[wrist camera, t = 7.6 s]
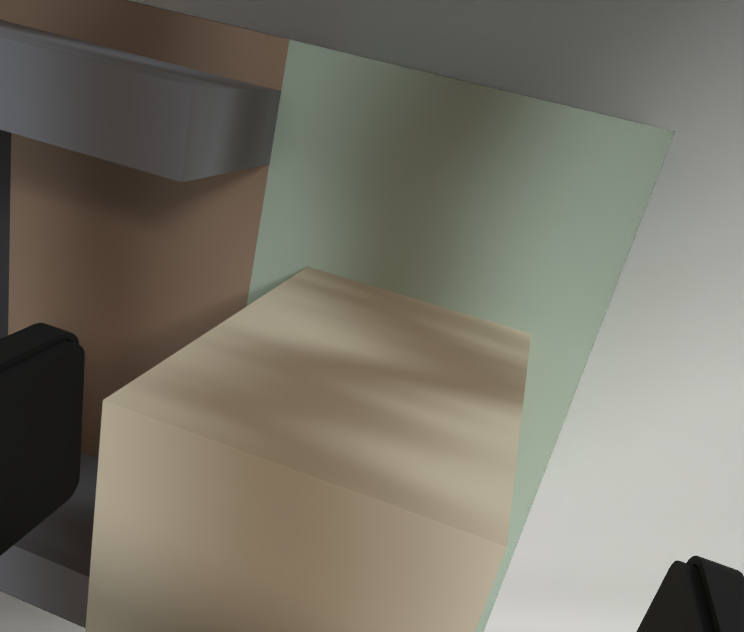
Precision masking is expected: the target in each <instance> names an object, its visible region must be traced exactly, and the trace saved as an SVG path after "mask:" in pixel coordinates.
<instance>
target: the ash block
mask: <svg viewBox="0 0 744 632" xmlns="http://www.w3.org/2000/svg"><path fill="white" fill-rule="evenodd" d="M530 339H531V334H529V333H526V332H523V331H520V330H516V329H513V328H510V327H506V326H503V325H500V324H496V323H493V322H490V321H486V320H483V319H480V318H477V317H473V316H470V315H467V314H463V313H460V312H457V311H453V310H450V309H447V308H443V307H440V306H437V305H433V304H430V303H427V302H424V301H420V300H417V299H414V298H410V297H407V296H404V295H400V294H397V293H394V292H390V291H387V290H384V289H380V288H377V287H374V286H371V285H367V284H364V283H361V282H357V281H354V280H351V279H347V278H344V277H341V276H337V275H334V274H331V273H328V272H324V271H321V270H318V269H314V268H311V267H307V268H305V269H303V270H302V271H300V272H299V273H297V274H296V275H294V276H293V277H291V278H290V279H288V280H287V281H285V282H283V283H282V284H280V285H279V286H277V287H276V288H274V289H273V290H271V291H270V292H268V293H267V294H265V295H264V296H262V297H260V298H259V299H257V300H256V301H254V302H253V303H251V304H250V305H248V306H247V307H245V308H244V309H242V310H241V311H239V312H237V313H236V314H234V315H233V316H231V317H230V318H228V319H227V320H225V321H224V322H222V323H221V324H219V325H218V326H216V327H214V328H213V329H211V330H210V331H208V332H207V333H205V334H204V335H202V336H201V337H199V338H198V339H196V340H194V341H193V342H191V343H190V344H188V345H187V346H185V347H184V348H182V349H181V350H179V351H178V352H176V353H175V354H173V355H171V356H170V357H168V358H167V359H165V360H164V361H162V362H161V363H159V364H158V365H156V366H155V367H153V368H152V369H150V370H148V371H147V372H145V373H144V374H142V375H141V376H139V377H138V378H136V379H135V380H133V381H132V382H130V383H128V384H127V385H125V386H124V387H122V388H121V389H119V390H118V391H116V392H115V393H113V394H112V395H110V396H109V397H107V398H105V399H104V400H103V405H102V418H101V431H100V445H99V458H98V471H97V484H96V497H95V511H94V524H93V537H92V550H91V563H90V576H89V590H88V603H87V616H86V629H85V632H475V631H476V628H477V626H478V623H479V620H480V618H481V615H482V612H483V610H484V607H485V604H486V602H487V599H488V596H489V594H490V591H491V588H492V586H493V583H494V580H495V578H496V575H497V572H498V569H499V567H500V564H501V561H502V559H503V556H504V553H505V551H506V548H507V542H508V533H509V524H510V516H511V507H512V498H513V489H514V480H515V471H516V463H517V454H518V445H519V436H520V427H521V418H522V410H523V401H524V392H525V383H526V374H527V365H528V357H529V348H530Z"/></svg>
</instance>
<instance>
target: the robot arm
mask: <svg viewBox="0 0 744 632" xmlns="http://www.w3.org/2000/svg"><path fill="white" fill-rule="evenodd" d="M84 366H85V351H84V349H83V347H82V346H80V345H79V340H78V338H77V336H76V335H75V334H73V333H71V332H68V331H65V330H63V329H60V328H57V327H54V326H51V325H49V324H46V323H36V324H33V325H31V326H28V327H26V328H24V329H22V330H19V331H17V332H15V333H13V334H10V335H8V336H6V337H3V338H1V339H0V556H1V555H2V554H3V553H5V552H6V551H7V550H8V549H9V548H11V547H12V546H13V545H14V544H16V543H17V542H18V541H19V540H20V539H22V538H23V537H24V536H25V535H26V534H28V533H29V532H30V531H31V530H33V529H34V528H35V527H36V526H37V525H39V524H40V523H41V522H42V521H44V520H45V519H46V518H47V517H48V516H50V515H51V514H52V513H53V512H55V511H56V510H57V509H58V508H59V507H61V506H62V505H63V504H64V503H65V502H67V501H68V500H69V499H70V498H71V496H72V495H73V494H74V492H75V490H76V488H77V486H78V483H79V478H80V458H81V435H82V412H83V389H84ZM637 632H744V576H743V574H742V573H741V572H740V571H738V570H735V569H733V568H730V567H727V566H724V565H721V564H719V563H716V562H713V561H710V560H707V559H705V558H702V557H699V556H693V557H691V558H690V559H689V560H688V562H687V563H684V562H681V561H675V562H674V563H673V564H672V565H671V567H670V568H669V570H668V572H667V574H666V576H665V578H664V580H663V582H662V584H661V586H660V588H659V590H658V591H657V593H656V595H655V597H654V599H653V601H652V603H651V605H650V607H649V609H648V611H647V613H646V615H645V617H644V618H643V620H642V622H641V624H640V626H639V628H638V630H637Z"/></svg>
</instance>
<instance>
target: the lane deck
mask: <svg viewBox="0 0 744 632" xmlns="http://www.w3.org/2000/svg"><path fill="white" fill-rule="evenodd" d="M674 132H675V131H671V130H666V129H662V128H658V127H654V126H650V125H645V124H641V123H637V122H633V121H629V120H625V119H620V118H616V117H612V116H608V115H604V114H600V113H595V112H591V111H587V110H583V109H579V108H574V107H570V106H566V105H562V104H558V103H554V102H549V101H545V100H541V99H537V98H533V97H528V96H524V95H520V94H516V93H512V92H508V91H503V90H499V89H495V88H491V87H487V86H482V85H478V84H474V83H470V82H466V81H462V80H457V79H453V78H449V77H445V76H441V75H436V74H432V73H428V72H424V71H420V70H416V69H411V68H407V67H403V66H399V65H395V64H391V63H386V62H382V61H378V60H374V59H370V58H365V57H361V56H357V55H353V54H349V53H345V52H340V51H336V50H332V49H328V48H324V47H319V46H315V45H311V44H307V43H303V42H299V41H294V40H290V39H286V38H282V37H278V36H273V35H269V34H265V33H261V32H257V31H253V30H248V29H244V28H240V27H236V26H232V25H227V24H223V23H219V22H215V21H211V20H207V19H202V18H198V17H194V16H190V15H186V14H182V13H177V12H173V11H169V10H165V9H161V8H156V7H152V6H148V5H144V4H140V3H136V2H131V1H127V0H0V339H1V338H3V337H6V336H8V335H10V334H13V333H15V332H17V331H19V330H22V329H24V328H26V327H28V326H31V325H33V324H36V323H46V324H49V325H51V326H54V327H57V328H60V329H63V330H65V331H68V332H71V333H73V334H75V335H76V336H77V338H78V340H79V345H80V346H82V347H83V349H84V351H85V366H84V389H83V412H82V435H81V458H80V478H79V483H78V486H77V488H76V490H75V492H74V494H73V495H72V496H71V498H70V499H69V500H68V501H67V502H65V503H64V504H63V505H62V506H61V507H59V508H58V509H57V510H56V511H55V512H53V513H52V514H51V515H50V516H48V517H47V518H46V519H45V520H44V521H42V522H41V523H40V524H39V525H37V526H36V527H35V528H34V529H33V530H31V531H30V532H29V533H28V534H26V535H25V536H24V537H23V538H22V539H20V540H19V541H18V542H17V543H16V544H14V545H13V546H12V547H11V548H9V549H8V550H7V551H6V552H5V553H3V554H2V555H1V556H0V591H2V592H4V593H6V594H9V595H11V596H13V597H16V598H18V599H20V600H22V601H25V602H27V603H29V604H32V605H34V606H36V607H38V608H41V609H43V610H45V611H48V612H50V613H52V614H54V615H57V616H59V617H61V618H64V619H66V620H68V621H70V622H73V623H75V624H77V625H80V626H82V627H84V628H86V616H87V603H88V590H89V576H90V563H91V550H92V537H93V524H94V511H95V497H96V484H97V471H98V458H99V445H100V431H101V418H102V405H103V400H104V399H105V398H107V397H109V396H110V395H112V394H113V393H115V392H116V391H118V390H119V389H121V388H122V387H124V386H125V385H127V384H128V383H130V382H132V381H133V380H135V379H136V378H138V377H139V376H141V375H142V374H144V373H145V372H147V371H148V370H150V369H152V368H153V367H155V366H156V365H158V364H159V363H161V362H162V361H164V360H165V359H167V358H168V357H170V356H171V355H173V354H175V353H176V352H178V351H179V350H181V349H182V348H184V347H185V346H187V345H188V344H190V343H191V342H193V341H194V340H196V339H198V338H199V337H201V336H202V335H204V334H205V333H207V332H208V331H210V330H211V329H213V328H214V327H216V326H218V325H219V324H221V323H222V322H224V321H225V320H227V319H228V318H230V317H231V316H233V315H234V314H236V313H237V312H239V311H241V310H242V309H244V308H245V307H247V306H248V305H250V304H251V303H253V302H254V301H256V300H257V299H259V298H260V297H262V296H264V295H265V294H267V293H268V292H270V291H271V290H273V289H274V288H276V287H277V286H279V285H280V284H282V283H283V282H285V281H287V280H288V279H290V278H291V277H293V276H294V275H296V274H297V273H299V272H300V271H302V270H303V269H305V268H307V267H311V268H314V269H318V270H321V271H324V272H328V273H331V274H334V275H337V276H341V277H344V278H347V279H351V280H354V281H357V282H361V283H364V284H367V285H371V286H374V287H377V288H380V289H384V290H387V291H390V292H394V293H397V294H400V295H404V296H407V297H410V298H414V299H417V300H420V301H424V302H427V303H430V304H433V305H437V306H440V307H443V308H447V309H450V310H453V311H457V312H460V313H463V314H467V315H470V316H473V317H477V318H480V319H483V320H486V321H490V322H493V323H496V324H500V325H503V326H506V327H510V328H513V329H516V330H520V331H523V332H526V333H529V334H531V339H530V348H529V357H528V365H527V374H526V383H525V392H524V401H523V410H522V418H521V427H520V436H519V445H518V454H517V463H516V471H515V480H514V489H513V498H512V507H511V516H510V524H509V533H508V542H507V548H506V551H505V553H504V556H503V559H502V561H501V564H500V567H499V569H498V572H497V575H496V578H495V580H494V583H493V586H492V588H491V591H490V594H489V596H488V599H487V602H486V604H485V607H484V610H483V612H482V615H481V618H480V620H479V623H478V626H477V628H476V631H475V632H484V629H485V626H486V624H487V621H488V619H489V616H490V613H491V611H492V608H493V606H494V603H495V600H496V598H497V595H498V592H499V590H500V587H501V585H502V582H503V579H504V577H505V574H506V572H507V569H508V566H509V564H510V561H511V558H512V556H513V553H514V551H515V548H516V545H517V543H518V540H519V538H520V535H521V532H522V530H523V527H524V525H525V522H526V519H527V517H528V514H529V511H530V509H531V506H532V504H533V501H534V498H535V496H536V493H537V491H538V488H539V485H540V483H541V480H542V477H543V475H544V472H545V470H546V467H547V464H548V462H549V459H550V457H551V454H552V451H553V449H554V446H555V443H556V441H557V438H558V436H559V433H560V430H561V428H562V425H563V423H564V420H565V417H566V415H567V412H568V409H569V407H570V404H571V402H572V399H573V396H574V394H575V391H576V389H577V386H578V383H579V381H580V378H581V375H582V373H583V370H584V368H585V365H586V362H587V360H588V357H589V355H590V352H591V349H592V347H593V344H594V341H595V339H596V336H597V334H598V331H599V328H600V326H601V323H602V321H603V318H604V315H605V313H606V310H607V307H608V305H609V302H610V300H611V297H612V294H613V292H614V289H615V287H616V284H617V281H618V279H619V276H620V273H621V271H622V268H623V266H624V263H625V260H626V258H627V255H628V253H629V250H630V247H631V245H632V242H633V239H634V237H635V234H636V232H637V229H638V226H639V224H640V221H641V219H642V216H643V213H644V211H645V208H646V206H647V203H648V200H649V198H650V195H651V192H652V190H653V187H654V185H655V182H656V179H657V177H658V174H659V172H660V169H661V166H662V164H663V161H664V158H665V156H666V153H667V151H668V148H669V145H670V143H671V140H672V138H673V135H674Z"/></svg>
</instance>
